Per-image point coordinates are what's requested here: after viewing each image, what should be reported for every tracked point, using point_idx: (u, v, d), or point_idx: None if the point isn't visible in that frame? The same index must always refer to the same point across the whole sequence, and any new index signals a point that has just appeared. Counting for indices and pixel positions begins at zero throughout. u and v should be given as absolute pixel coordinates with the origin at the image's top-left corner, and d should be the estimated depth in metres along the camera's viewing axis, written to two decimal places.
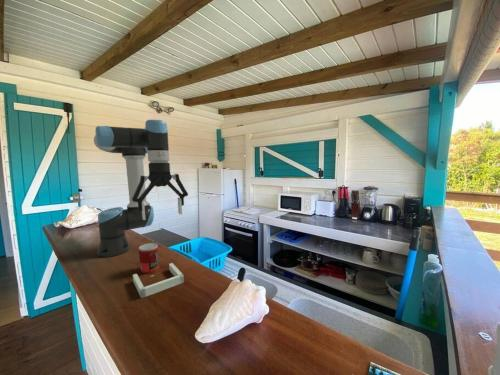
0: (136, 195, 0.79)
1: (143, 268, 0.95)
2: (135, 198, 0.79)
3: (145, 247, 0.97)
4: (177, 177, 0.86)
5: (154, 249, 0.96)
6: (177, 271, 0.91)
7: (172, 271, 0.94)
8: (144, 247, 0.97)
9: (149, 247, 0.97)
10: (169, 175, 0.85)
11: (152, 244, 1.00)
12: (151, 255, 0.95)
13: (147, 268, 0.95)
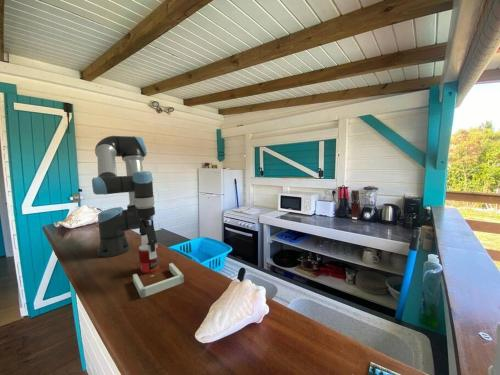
0: None
1: (143, 268, 0.95)
2: (139, 231, 1.03)
3: (145, 247, 0.97)
4: (146, 224, 0.90)
5: None
6: (177, 271, 0.91)
7: (172, 271, 0.94)
8: (144, 247, 0.97)
9: None
10: (145, 220, 0.92)
11: None
12: None
13: (147, 268, 0.95)
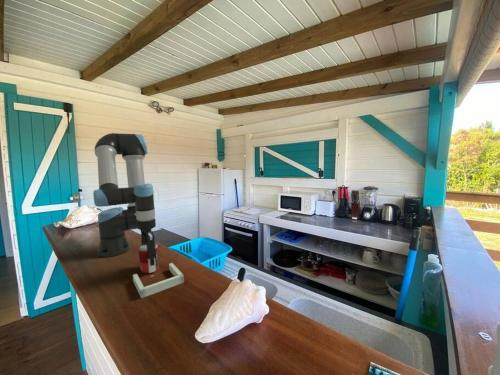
0: None
1: (143, 268, 0.95)
2: None
3: (145, 247, 0.97)
4: (147, 238, 0.91)
5: None
6: (177, 271, 0.91)
7: (172, 271, 0.94)
8: (144, 247, 0.97)
9: None
10: (146, 233, 0.93)
11: None
12: None
13: (147, 268, 0.95)
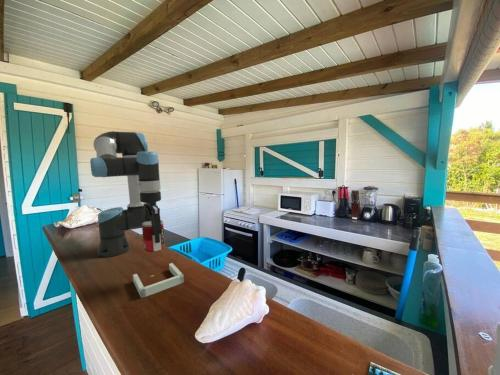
0: (145, 220, 0.92)
1: (147, 246, 0.85)
2: None
3: (149, 223, 0.87)
4: (152, 212, 0.81)
5: None
6: (177, 271, 0.91)
7: (172, 271, 0.94)
8: (148, 223, 0.87)
9: None
10: (150, 206, 0.83)
11: None
12: None
13: (151, 246, 0.84)
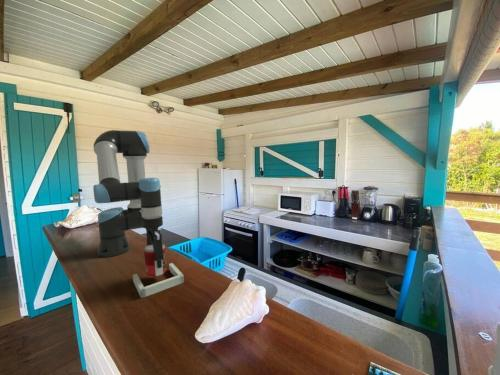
0: (147, 244, 0.93)
1: (149, 271, 0.86)
2: None
3: (151, 248, 0.88)
4: (154, 238, 0.82)
5: None
6: (177, 271, 0.91)
7: (172, 271, 0.94)
8: (150, 248, 0.88)
9: None
10: (152, 232, 0.84)
11: None
12: None
13: (153, 271, 0.86)
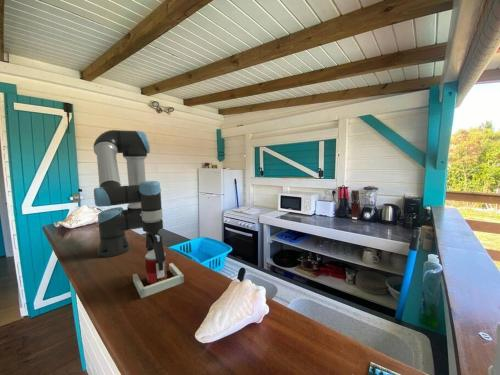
0: (146, 243, 0.94)
1: (149, 279, 0.86)
2: (146, 245, 0.95)
3: (152, 255, 0.88)
4: (154, 240, 0.82)
5: None
6: (177, 271, 0.91)
7: (172, 271, 0.94)
8: (151, 255, 0.88)
9: None
10: (152, 235, 0.84)
11: None
12: None
13: (154, 278, 0.86)
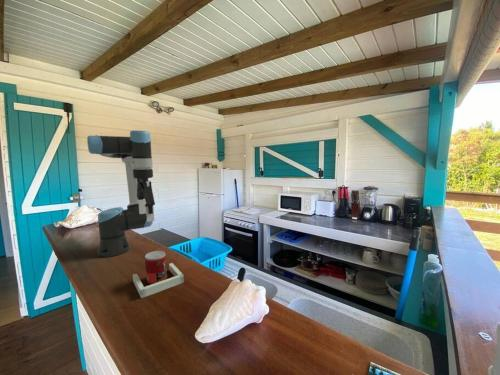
0: (137, 193, 0.99)
1: (149, 279, 0.86)
2: (137, 195, 1.00)
3: (152, 255, 0.88)
4: (144, 185, 0.87)
5: (162, 258, 0.87)
6: (177, 271, 0.91)
7: (172, 271, 0.94)
8: (151, 255, 0.88)
9: (156, 255, 0.88)
10: (142, 181, 0.89)
11: (159, 252, 0.91)
12: (158, 265, 0.86)
13: (154, 279, 0.86)
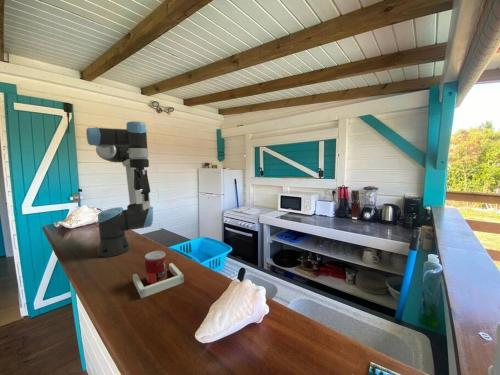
0: (134, 183, 1.03)
1: (149, 279, 0.86)
2: (134, 185, 1.03)
3: (152, 255, 0.88)
4: (140, 173, 0.91)
5: (162, 258, 0.87)
6: (177, 271, 0.91)
7: (172, 271, 0.94)
8: (151, 255, 0.88)
9: (156, 255, 0.88)
10: (138, 170, 0.93)
11: (159, 252, 0.91)
12: (158, 265, 0.86)
13: (154, 279, 0.86)
